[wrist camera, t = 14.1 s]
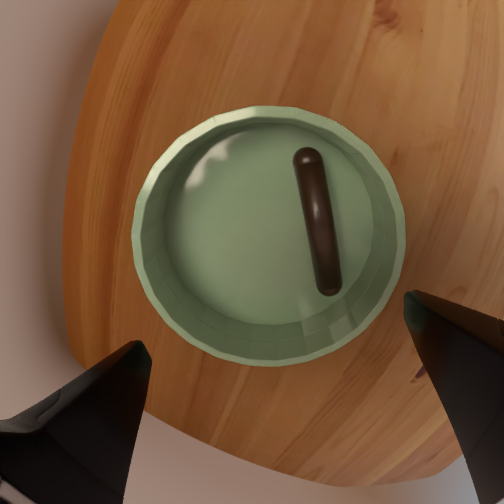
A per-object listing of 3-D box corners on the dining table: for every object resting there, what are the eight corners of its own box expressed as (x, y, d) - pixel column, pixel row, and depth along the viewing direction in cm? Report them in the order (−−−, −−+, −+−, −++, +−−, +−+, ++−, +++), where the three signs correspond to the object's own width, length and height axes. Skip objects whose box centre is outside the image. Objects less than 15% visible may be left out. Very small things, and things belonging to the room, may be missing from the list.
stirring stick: (327, 304, 18) (313, 294, 19) (349, 294, 18) (333, 285, 20) (298, 148, 15) (283, 150, 16) (325, 143, 15) (309, 145, 17)
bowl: (383, 304, 20) (404, 338, 16) (197, 339, 22) (185, 377, 18) (357, 99, 15) (383, 86, 11) (133, 153, 17) (99, 157, 13)
